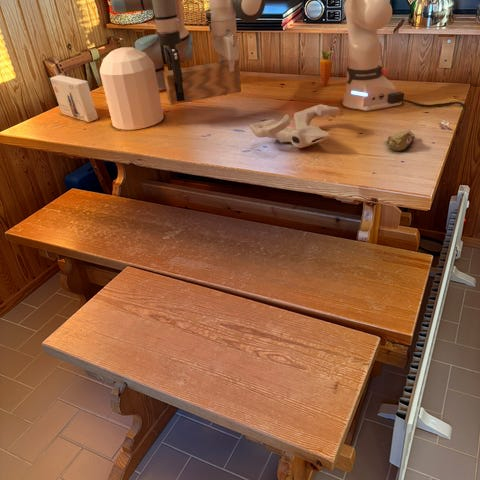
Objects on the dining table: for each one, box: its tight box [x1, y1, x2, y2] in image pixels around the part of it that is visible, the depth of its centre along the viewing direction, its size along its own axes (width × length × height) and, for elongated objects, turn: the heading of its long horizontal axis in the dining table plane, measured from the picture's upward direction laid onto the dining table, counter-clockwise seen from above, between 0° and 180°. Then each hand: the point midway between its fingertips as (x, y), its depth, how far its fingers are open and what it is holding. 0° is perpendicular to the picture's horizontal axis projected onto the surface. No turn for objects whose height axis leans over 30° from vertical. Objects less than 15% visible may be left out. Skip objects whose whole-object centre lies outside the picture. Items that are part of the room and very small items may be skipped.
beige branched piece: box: [250, 104, 341, 149], centre depth 155 cm, size 28×26×12 cm
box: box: [163, 60, 242, 106], centre depth 171 cm, size 27×6×11 cm, turn 109°
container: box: [99, 46, 164, 131], centre depth 180 cm, size 21×21×28 cm
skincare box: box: [49, 74, 99, 123], centre depth 193 cm, size 21×5×16 cm, turn 49°
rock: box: [387, 129, 416, 152], centre depth 146 cm, size 11×6×10 cm
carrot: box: [319, 49, 333, 86], centre depth 201 cm, size 5×5×15 cm
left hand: (178, 98), depth 172 cm, fingers closed on box, 6 cm apart
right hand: (227, 68), depth 172 cm, fingers open, 8 cm apart
